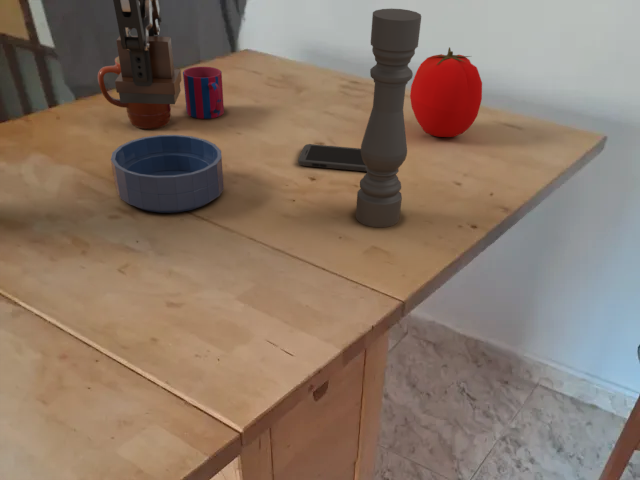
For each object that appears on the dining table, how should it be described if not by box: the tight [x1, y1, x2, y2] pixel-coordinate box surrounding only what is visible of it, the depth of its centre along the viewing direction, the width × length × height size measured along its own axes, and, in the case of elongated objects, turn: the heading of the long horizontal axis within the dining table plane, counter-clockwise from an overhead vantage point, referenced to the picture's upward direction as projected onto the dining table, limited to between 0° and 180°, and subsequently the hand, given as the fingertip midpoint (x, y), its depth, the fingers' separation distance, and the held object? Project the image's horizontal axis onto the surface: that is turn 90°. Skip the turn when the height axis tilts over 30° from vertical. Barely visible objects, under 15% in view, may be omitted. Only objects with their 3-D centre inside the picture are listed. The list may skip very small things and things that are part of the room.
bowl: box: [110, 134, 225, 214], centre depth 98 cm, size 15×15×6 cm
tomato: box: [409, 47, 483, 138], centre depth 116 cm, size 12×12×13 cm
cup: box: [182, 66, 225, 120], centre depth 121 cm, size 7×10×7 cm
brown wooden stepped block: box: [114, 35, 182, 105], centre depth 83 cm, size 7×6×6 cm
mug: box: [97, 55, 172, 130], centre depth 116 cm, size 12×9×10 cm
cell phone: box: [297, 143, 367, 173], centre depth 110 cm, size 7×14×1 cm, turn 81°
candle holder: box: [355, 8, 422, 228], centre depth 88 cm, size 6×6×25 cm
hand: (148, 76), depth 84 cm, fingers closed on brown wooden stepped block, 5 cm apart
